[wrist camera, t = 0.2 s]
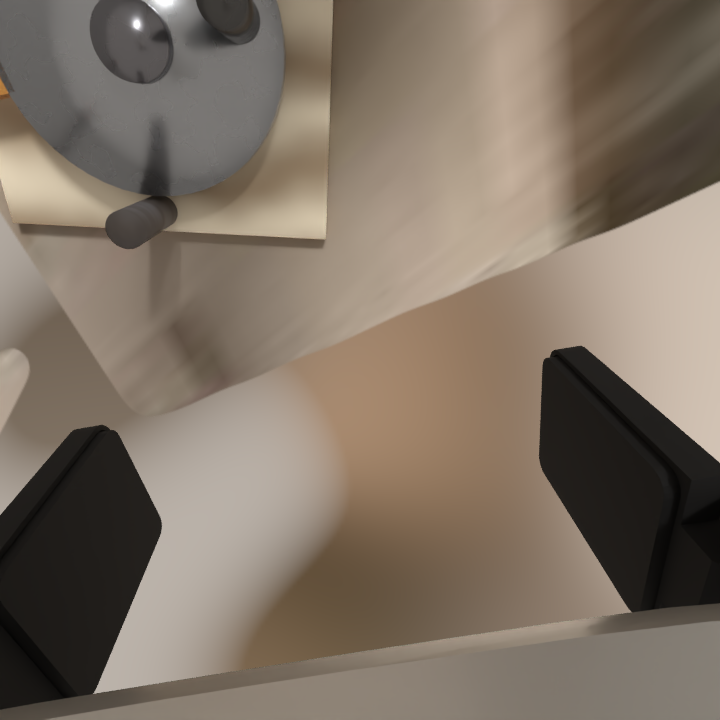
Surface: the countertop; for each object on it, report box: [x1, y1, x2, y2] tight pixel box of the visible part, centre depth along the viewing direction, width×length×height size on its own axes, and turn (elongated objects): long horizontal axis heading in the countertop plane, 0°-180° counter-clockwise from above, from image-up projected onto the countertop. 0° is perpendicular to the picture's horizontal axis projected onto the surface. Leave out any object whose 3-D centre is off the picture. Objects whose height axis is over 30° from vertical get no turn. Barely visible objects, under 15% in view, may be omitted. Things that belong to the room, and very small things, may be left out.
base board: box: [0, 0, 333, 249], centre depth 27 cm, size 24×24×8 cm
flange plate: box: [0, 0, 286, 196], centre depth 26 cm, size 18×20×6 cm
